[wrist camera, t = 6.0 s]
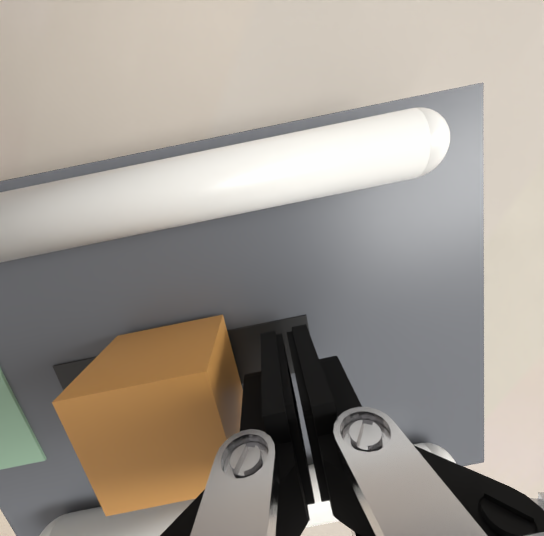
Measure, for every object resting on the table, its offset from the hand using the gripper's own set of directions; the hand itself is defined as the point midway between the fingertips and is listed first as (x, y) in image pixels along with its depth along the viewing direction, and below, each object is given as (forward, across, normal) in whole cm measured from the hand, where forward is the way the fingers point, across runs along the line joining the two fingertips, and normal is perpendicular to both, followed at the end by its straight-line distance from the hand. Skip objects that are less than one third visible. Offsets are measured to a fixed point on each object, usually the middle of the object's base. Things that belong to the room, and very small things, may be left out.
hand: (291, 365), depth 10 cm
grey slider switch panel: (+7, +3, 0) cm, 8 cm away
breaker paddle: (+1, +4, 0) cm, 4 cm away
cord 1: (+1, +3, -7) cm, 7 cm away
